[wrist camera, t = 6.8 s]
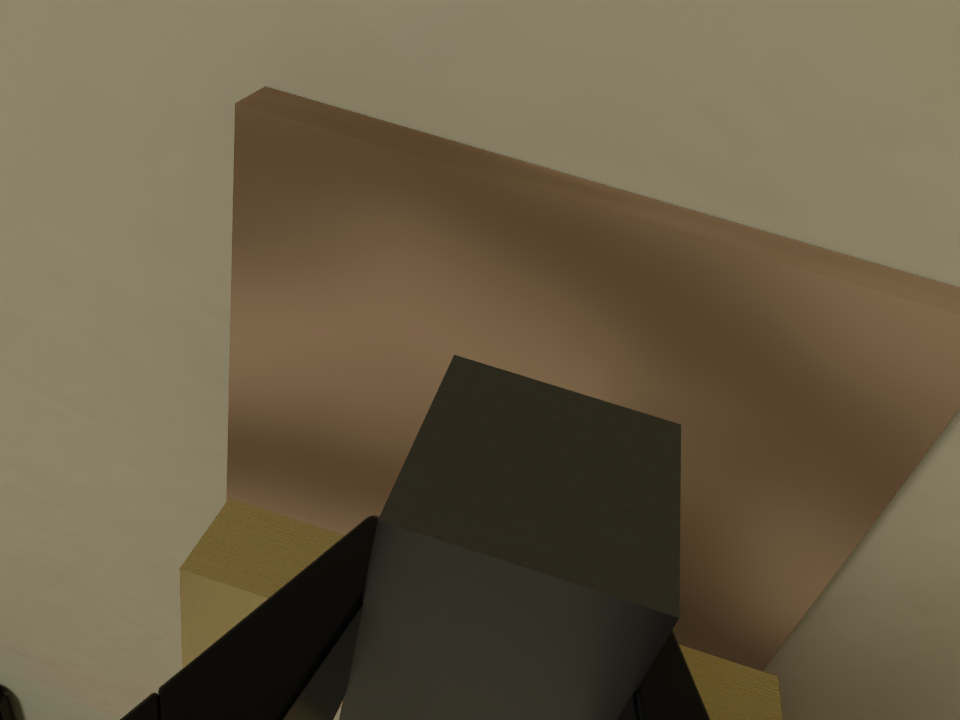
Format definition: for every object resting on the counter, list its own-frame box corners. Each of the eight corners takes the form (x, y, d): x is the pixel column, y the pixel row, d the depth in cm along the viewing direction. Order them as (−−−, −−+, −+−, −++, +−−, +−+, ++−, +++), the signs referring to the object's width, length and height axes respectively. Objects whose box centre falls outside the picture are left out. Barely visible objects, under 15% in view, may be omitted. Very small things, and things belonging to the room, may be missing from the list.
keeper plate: (656, 775, 24) (648, 994, 20) (241, 635, 25) (140, 812, 21) (993, 297, 14) (1146, 522, 9) (265, 86, 15) (71, 194, 10)
